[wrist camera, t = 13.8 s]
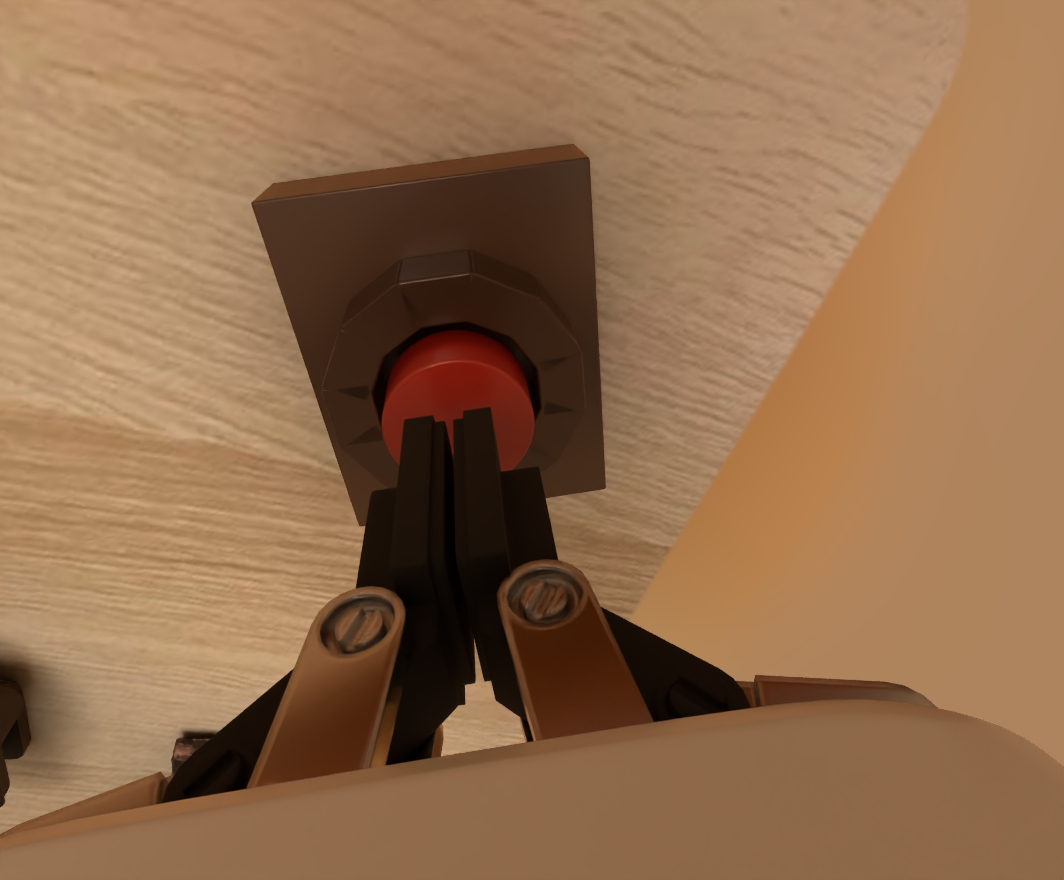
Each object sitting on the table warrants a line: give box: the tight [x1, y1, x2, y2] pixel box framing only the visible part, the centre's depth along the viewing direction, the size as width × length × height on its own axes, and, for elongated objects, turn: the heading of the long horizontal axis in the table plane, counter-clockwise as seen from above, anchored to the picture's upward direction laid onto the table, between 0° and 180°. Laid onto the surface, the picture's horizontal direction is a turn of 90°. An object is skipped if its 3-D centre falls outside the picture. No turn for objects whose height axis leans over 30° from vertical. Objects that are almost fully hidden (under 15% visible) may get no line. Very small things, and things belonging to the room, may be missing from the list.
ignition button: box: [382, 330, 535, 472], centre depth 16 cm, size 4×4×2 cm
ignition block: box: [252, 144, 606, 526], centre depth 18 cm, size 10×8×4 cm
